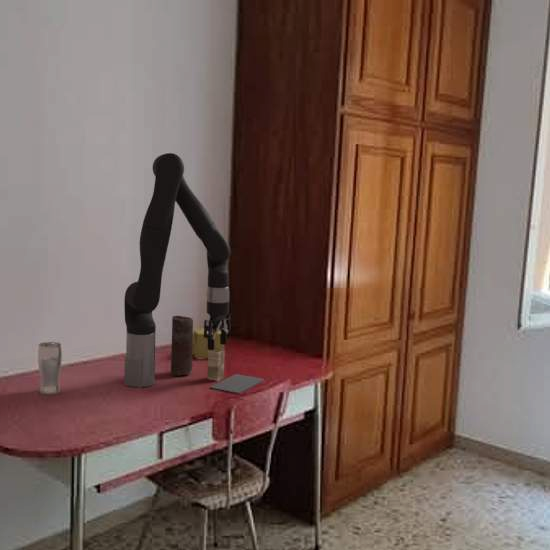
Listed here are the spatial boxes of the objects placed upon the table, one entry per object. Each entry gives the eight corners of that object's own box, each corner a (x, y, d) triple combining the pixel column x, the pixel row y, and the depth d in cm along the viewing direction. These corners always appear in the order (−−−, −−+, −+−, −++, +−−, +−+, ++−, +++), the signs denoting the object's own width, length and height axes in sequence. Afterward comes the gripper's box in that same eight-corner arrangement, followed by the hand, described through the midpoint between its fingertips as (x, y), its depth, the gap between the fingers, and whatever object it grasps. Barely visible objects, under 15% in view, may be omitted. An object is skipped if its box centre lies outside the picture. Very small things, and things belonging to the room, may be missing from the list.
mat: (239, 393, 227) (239, 392, 227) (209, 388, 232) (209, 387, 232) (264, 380, 243) (264, 379, 243) (235, 375, 248) (235, 374, 248)
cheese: (190, 353, 276) (191, 327, 274) (218, 352, 279) (218, 327, 277) (196, 360, 266) (196, 333, 264) (224, 359, 269) (225, 333, 268)
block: (217, 381, 240) (218, 351, 238) (207, 379, 241) (208, 350, 240) (223, 378, 243) (224, 349, 242) (213, 376, 245) (214, 347, 244)
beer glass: (62, 388, 225) (63, 341, 223) (60, 394, 219) (60, 347, 216) (39, 388, 224) (39, 341, 222) (36, 395, 217) (36, 347, 215)
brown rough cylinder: (175, 369, 251) (176, 314, 248) (195, 371, 250) (196, 315, 247) (167, 375, 244) (168, 318, 241) (188, 377, 242) (189, 320, 240)
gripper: (217, 304, 231) (216, 353, 233) (237, 297, 243) (237, 343, 246) (197, 302, 234) (196, 350, 236) (218, 295, 247) (218, 341, 249)
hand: (217, 347), depth 241 cm, fingers open, 8 cm apart
